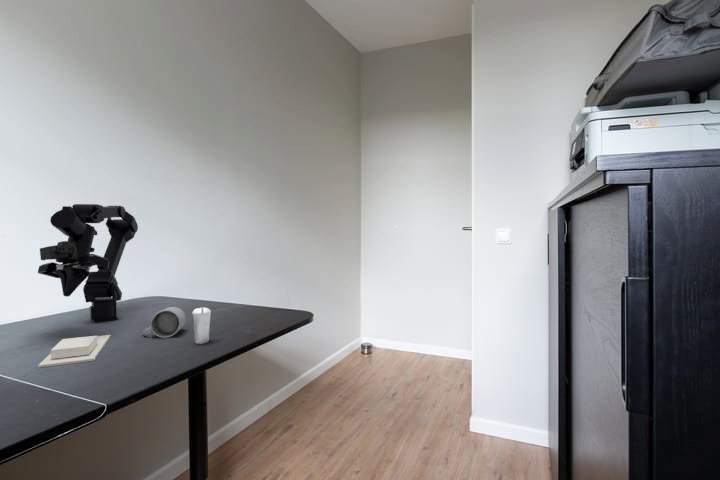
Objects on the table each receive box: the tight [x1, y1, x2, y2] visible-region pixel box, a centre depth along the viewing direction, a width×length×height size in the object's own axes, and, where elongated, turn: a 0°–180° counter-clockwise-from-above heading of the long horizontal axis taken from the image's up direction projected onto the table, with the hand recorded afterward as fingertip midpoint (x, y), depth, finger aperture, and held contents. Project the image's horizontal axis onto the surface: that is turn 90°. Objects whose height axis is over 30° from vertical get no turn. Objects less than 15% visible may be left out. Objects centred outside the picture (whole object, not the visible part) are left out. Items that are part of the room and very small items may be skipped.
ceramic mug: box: [141, 306, 187, 339], centre depth 104 cm, size 11×8×8 cm
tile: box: [50, 335, 98, 359], centre depth 87 cm, size 2×7×9 cm
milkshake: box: [191, 306, 212, 345], centre depth 96 cm, size 4×5×10 cm
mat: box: [37, 334, 112, 369], centre depth 90 cm, size 20×10×1 cm, turn 26°
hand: (66, 296), depth 99 cm, fingers closed
